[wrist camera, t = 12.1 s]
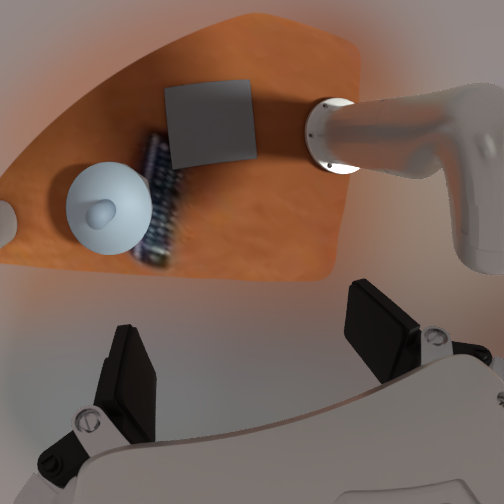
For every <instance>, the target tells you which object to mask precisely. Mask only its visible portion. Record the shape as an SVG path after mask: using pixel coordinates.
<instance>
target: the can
mask: <svg viewBox="0 0 504 504" xmlns="http://www.w3.org/2000/svg"><path fill="white" fill-rule="evenodd" d="M16 231H17V219H16V215H15V212H14V210H13V208H12V207H11V205H10V204H9V203H7V202H6V201H3V200H1V201H0V248H2V247H3V246H5V245H6V244H7V243H9V242H10V241H12V240H13V238H14V237H15V234H16Z"/></svg>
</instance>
